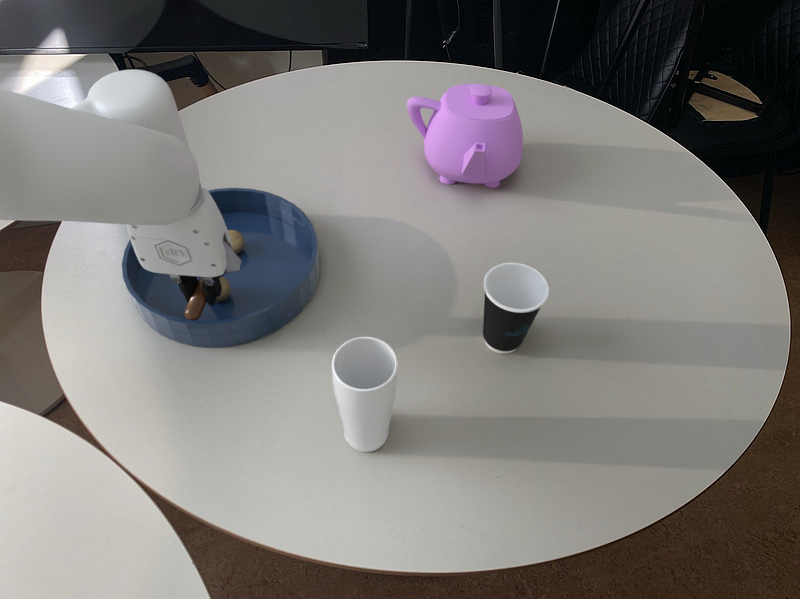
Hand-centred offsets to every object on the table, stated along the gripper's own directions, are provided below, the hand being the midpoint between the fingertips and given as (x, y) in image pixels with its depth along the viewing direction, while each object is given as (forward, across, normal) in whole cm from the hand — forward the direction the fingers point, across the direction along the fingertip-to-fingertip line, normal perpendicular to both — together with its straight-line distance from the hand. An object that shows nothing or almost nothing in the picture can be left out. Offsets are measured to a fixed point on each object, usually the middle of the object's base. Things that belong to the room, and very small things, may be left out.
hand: (204, 295), depth 78 cm
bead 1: (+2, 0, +3) cm, 4 cm away
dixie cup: (+5, +39, 0) cm, 40 cm away
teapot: (+6, +33, +35) cm, 49 cm away
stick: (0, 0, 0) cm, 0 cm away
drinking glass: (+4, +23, -15) cm, 28 cm away
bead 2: (+3, 0, +12) cm, 12 cm away
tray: (+5, 0, +8) cm, 9 cm away
